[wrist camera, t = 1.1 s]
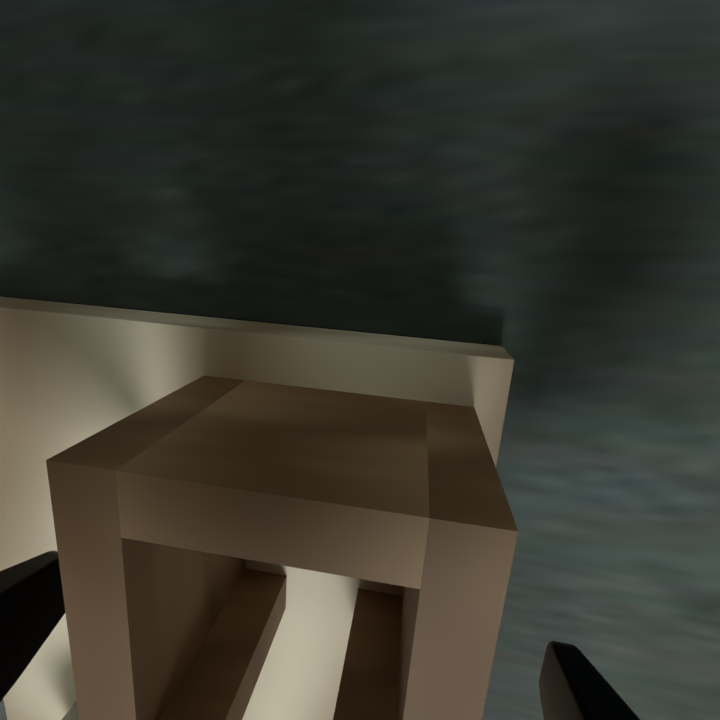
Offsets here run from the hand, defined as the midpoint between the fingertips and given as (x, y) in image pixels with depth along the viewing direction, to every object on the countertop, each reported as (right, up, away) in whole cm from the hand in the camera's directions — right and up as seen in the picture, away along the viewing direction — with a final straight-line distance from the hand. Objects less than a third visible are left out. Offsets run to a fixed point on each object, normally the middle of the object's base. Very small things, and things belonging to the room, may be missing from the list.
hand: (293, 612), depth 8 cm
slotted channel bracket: (0, +1, +3) cm, 3 cm away
